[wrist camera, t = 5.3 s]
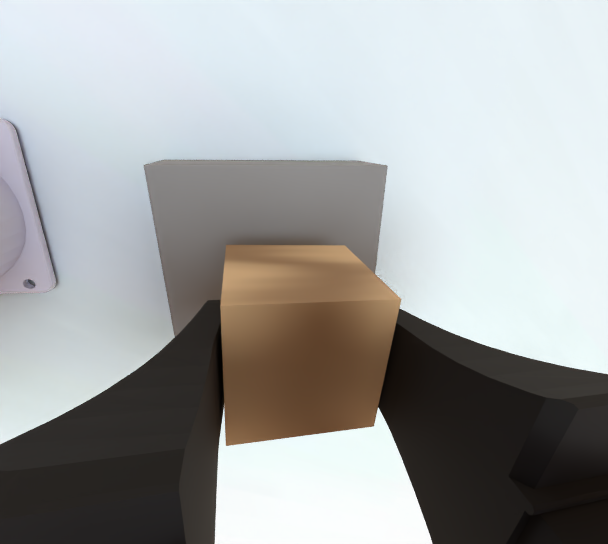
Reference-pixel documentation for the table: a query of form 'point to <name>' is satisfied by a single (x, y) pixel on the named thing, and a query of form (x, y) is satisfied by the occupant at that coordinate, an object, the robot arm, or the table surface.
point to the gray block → (255, 216)
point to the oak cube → (302, 341)
